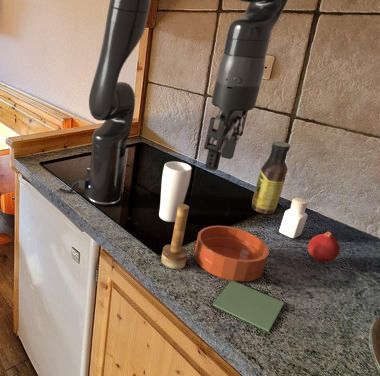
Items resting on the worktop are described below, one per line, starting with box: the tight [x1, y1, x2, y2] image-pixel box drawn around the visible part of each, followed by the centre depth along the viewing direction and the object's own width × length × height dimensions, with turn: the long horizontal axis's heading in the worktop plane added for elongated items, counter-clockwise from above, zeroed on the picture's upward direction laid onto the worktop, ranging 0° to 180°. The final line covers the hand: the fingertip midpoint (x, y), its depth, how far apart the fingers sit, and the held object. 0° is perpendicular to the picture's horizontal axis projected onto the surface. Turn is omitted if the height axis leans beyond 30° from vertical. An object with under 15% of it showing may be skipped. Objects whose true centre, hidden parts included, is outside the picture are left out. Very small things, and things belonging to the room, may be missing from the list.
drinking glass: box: [158, 161, 192, 223], centre depth 105 cm, size 7×7×15 cm
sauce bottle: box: [251, 140, 291, 215], centre depth 109 cm, size 6×6×20 cm
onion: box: [307, 231, 341, 264], centre depth 90 cm, size 6×6×8 cm
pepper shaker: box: [278, 197, 309, 239], centre depth 100 cm, size 4×4×10 cm
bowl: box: [193, 225, 270, 282], centre depth 89 cm, size 14×14×6 cm
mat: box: [212, 280, 285, 333], centre depth 78 cm, size 10×10×1 cm
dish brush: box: [160, 203, 190, 270], centre depth 87 cm, size 5×5×14 cm
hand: (219, 163), depth 80 cm, fingers open, 8 cm apart
